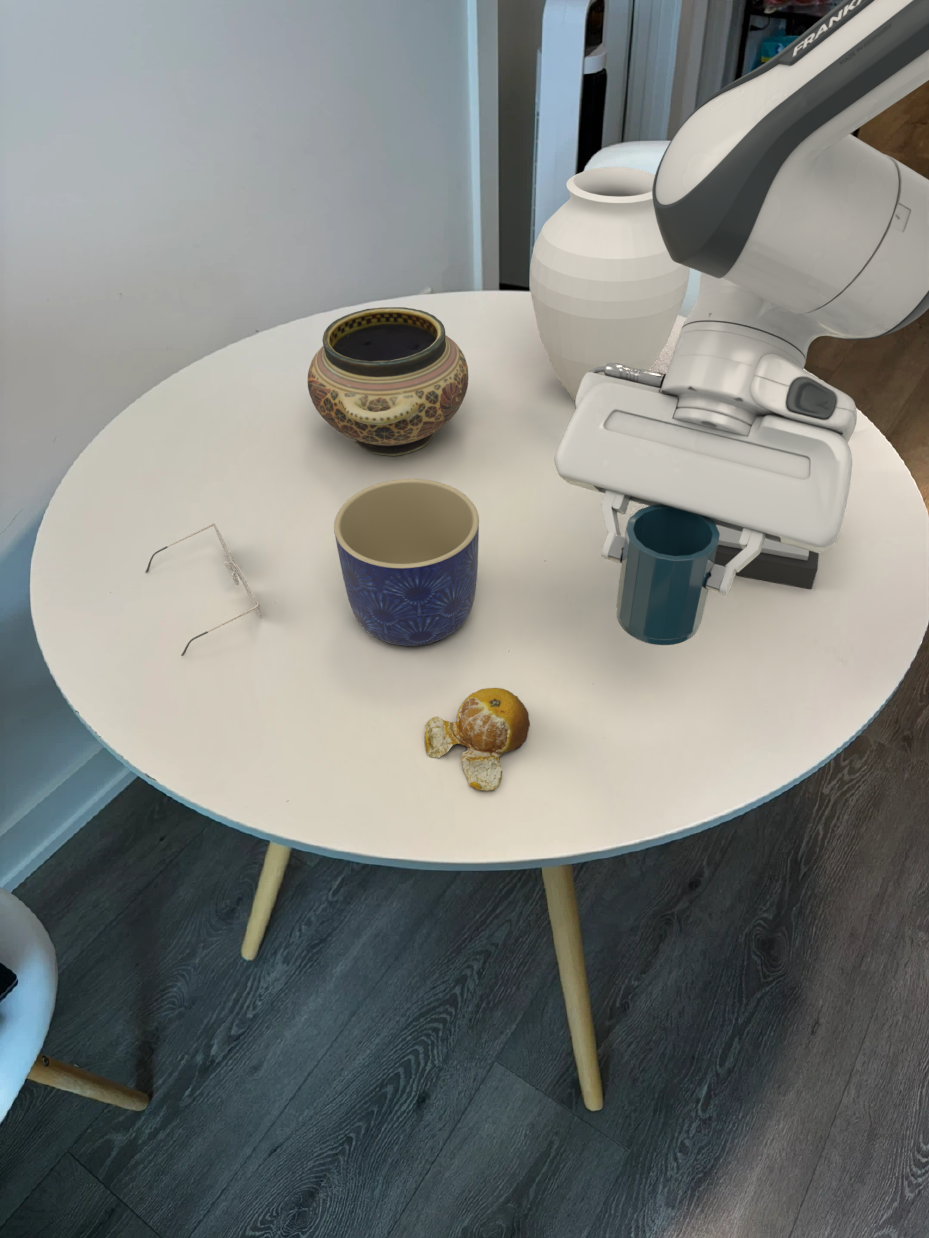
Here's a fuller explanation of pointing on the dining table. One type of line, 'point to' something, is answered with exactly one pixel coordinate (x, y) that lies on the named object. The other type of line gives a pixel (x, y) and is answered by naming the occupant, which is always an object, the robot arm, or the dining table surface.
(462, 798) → the dining table surface
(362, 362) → the ceramic bowl
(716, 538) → the cup
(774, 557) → the scale
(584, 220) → the vase
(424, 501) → the planter
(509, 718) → the fruit
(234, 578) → the eyeglasses
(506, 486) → the dining table surface
